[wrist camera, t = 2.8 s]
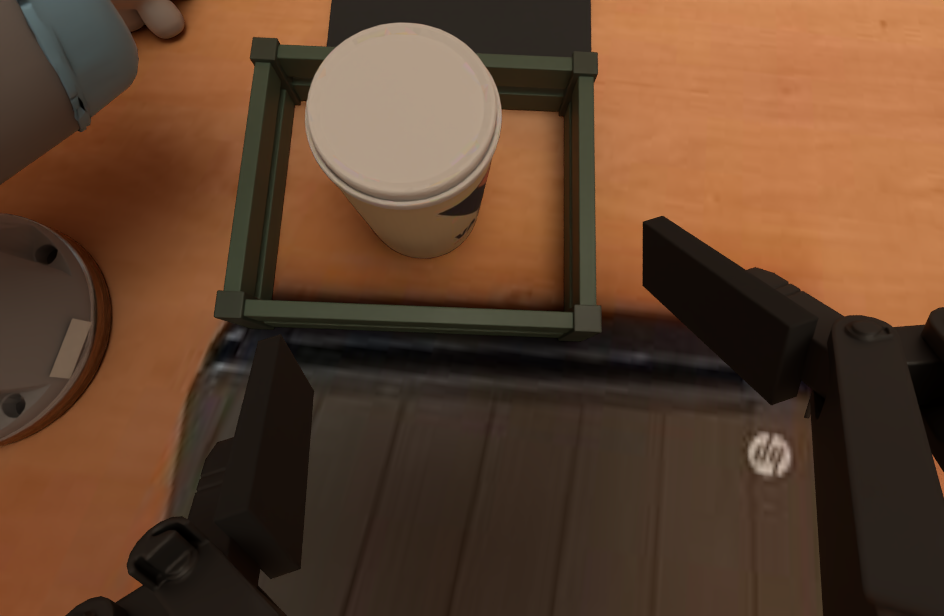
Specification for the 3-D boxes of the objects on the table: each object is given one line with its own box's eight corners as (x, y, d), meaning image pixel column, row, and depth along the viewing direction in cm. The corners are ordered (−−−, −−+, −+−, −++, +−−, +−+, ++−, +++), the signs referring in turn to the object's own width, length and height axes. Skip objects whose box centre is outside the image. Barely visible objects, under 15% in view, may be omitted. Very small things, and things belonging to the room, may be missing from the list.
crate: (250, 328, 31) (212, 317, 27) (281, 85, 35) (252, 36, 30) (581, 341, 32) (601, 332, 27) (579, 98, 35) (598, 51, 30)
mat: (325, 77, 35) (323, 73, 34) (339, -57, 37) (338, -61, 37) (590, 89, 35) (591, 85, 35) (588, -45, 37) (590, -50, 37)
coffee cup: (481, 278, 32) (491, 211, 20) (348, 261, 32) (280, 185, 20) (496, 155, 34) (513, 28, 22) (369, 139, 34) (319, 4, 22)
